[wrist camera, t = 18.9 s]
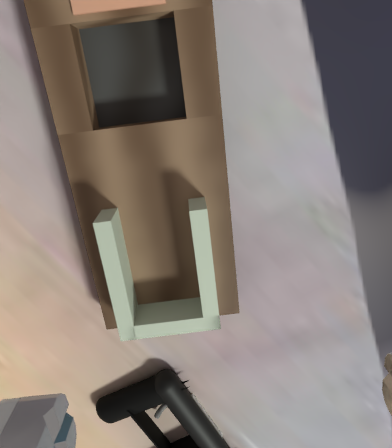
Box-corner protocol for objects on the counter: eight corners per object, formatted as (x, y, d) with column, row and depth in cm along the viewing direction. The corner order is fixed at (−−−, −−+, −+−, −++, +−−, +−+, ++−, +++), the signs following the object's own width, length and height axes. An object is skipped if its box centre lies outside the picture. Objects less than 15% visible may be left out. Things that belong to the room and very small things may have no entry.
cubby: (126, 318, 37) (120, 341, 33) (101, 209, 32) (92, 223, 29) (217, 307, 36) (220, 328, 33) (204, 196, 32) (207, 208, 29)
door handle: (148, 513, 49) (253, 479, 46) (62, 423, 43) (178, 376, 40) (151, 487, 52) (249, 454, 49) (72, 400, 46) (179, 355, 43)
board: (111, 312, 40) (106, 329, 37) (16, -83, 27) (-3, -104, 24) (235, 297, 40) (239, 312, 37) (198, -107, 27) (200, -130, 24)
